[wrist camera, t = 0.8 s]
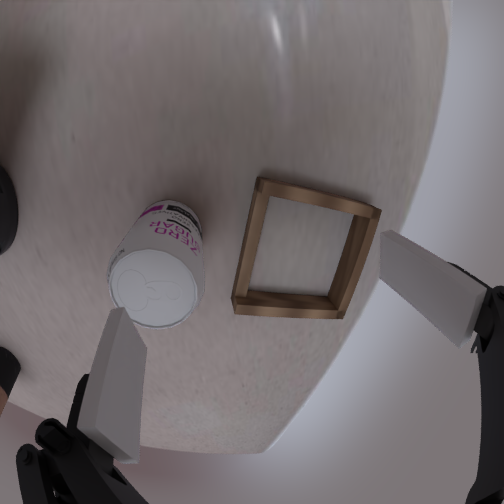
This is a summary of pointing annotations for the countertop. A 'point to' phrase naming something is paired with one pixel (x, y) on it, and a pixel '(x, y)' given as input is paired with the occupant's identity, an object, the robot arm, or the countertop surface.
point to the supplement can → (159, 267)
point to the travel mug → (7, 375)
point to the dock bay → (345, 273)
